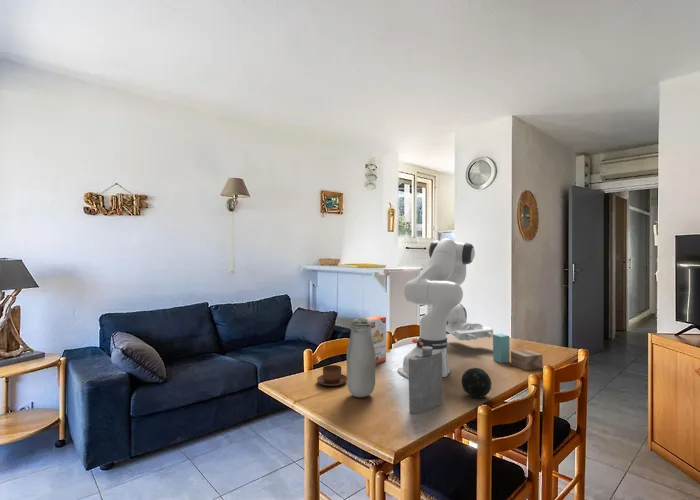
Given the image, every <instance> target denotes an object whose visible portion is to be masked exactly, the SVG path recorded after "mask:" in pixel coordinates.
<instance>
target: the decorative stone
mask: <svg viewBox="0 0 700 500" xmlns="http://www.w3.org/2000/svg"><path fill="white" fill-rule="evenodd" d="M491 380H492V379H491V377H490V375H489V374H488V373H487V371H485V370H483V369H482V368H479V367H471V368H468V369H466V371H464V373H463V374H462V375H461V386H462V389H463V390H464V392H465V393H466V394H467V395H469V396H470V397H472V398H477V399H480V398H483V397H486V396H487V395H488V394H489V392H490V391H491V390H492V389H491V388H492V381H491Z"/></svg>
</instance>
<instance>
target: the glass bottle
mask: <svg viewBox="0 0 700 500" xmlns="http://www.w3.org/2000/svg"><path fill="white" fill-rule="evenodd" d="M366 318H367V317H358V318H355V319H353V320H352V322H351V323H350V334H349V340H348V343H347V349H346V377H347V381H346V383H347V388H348V391H349V393H350V394H351V395H352V396H353V397H356V398H365V397H366V398H367V397H368V396H370V395H371V394H373V392H374V389H375V386H376V364H375V360H376V356H375V348H374V344H373V340H372V335H371V323H370V321H369V320H368V319H366Z"/></svg>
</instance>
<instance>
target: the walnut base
mask: <svg viewBox="0 0 700 500" xmlns="http://www.w3.org/2000/svg"><path fill="white" fill-rule="evenodd" d="M510 365H512V366H514V367H517V368H520V369H522V370H525V371H529V370H530V371H531V370H538V369H543V354H541V353H538V352H536V351H533V350H530V349H520V350H519V349H518V350H511V351H510Z"/></svg>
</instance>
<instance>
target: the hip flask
mask: <svg viewBox="0 0 700 500" xmlns="http://www.w3.org/2000/svg"><path fill="white" fill-rule="evenodd" d="M408 390H409V391H408V398H409V399H408V401H409V402H408V403H409V405H408V409H409V410H408V411H409V414H412V415H419V414H421V413H424V412H427V411H430V410H432V409H434V408H436V407H437V406H439V405H440V404H442V403H443V400H444V399H443V377H442V351H441V350H433V348H432V347H428V346H425V347H422V354H419V355H416V356H414V357H409V378H408Z"/></svg>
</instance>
